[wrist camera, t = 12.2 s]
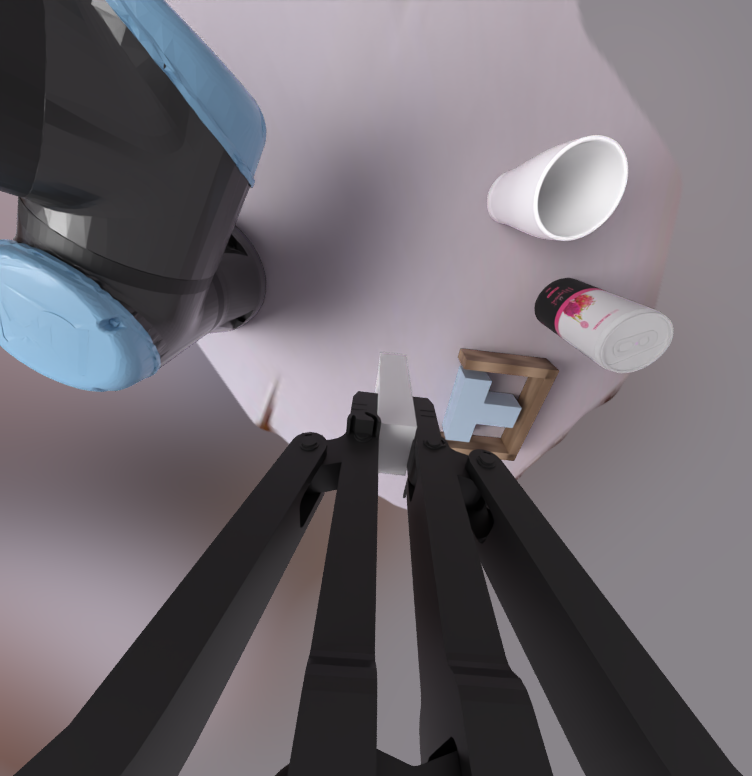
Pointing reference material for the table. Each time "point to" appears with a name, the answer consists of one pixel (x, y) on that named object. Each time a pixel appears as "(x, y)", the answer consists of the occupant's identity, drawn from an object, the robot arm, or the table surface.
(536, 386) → the walnut corral
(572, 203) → the white paper cup
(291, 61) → the table surface
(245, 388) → the table surface
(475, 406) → the tee block
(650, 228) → the table surface
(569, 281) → the beverage can
